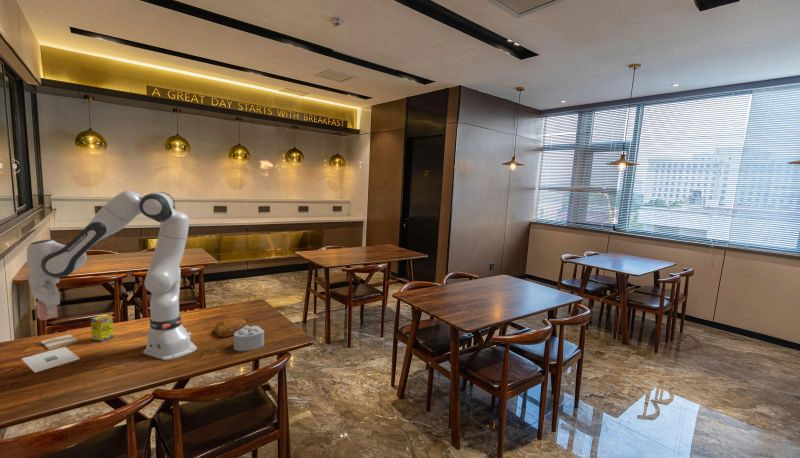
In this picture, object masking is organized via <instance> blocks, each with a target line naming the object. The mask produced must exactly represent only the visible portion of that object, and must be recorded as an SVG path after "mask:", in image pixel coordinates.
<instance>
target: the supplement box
mask: <svg viewBox="0 0 800 458" xmlns="http://www.w3.org/2000/svg"><path fill="white" fill-rule="evenodd" d="M90 331H91V341H94V342H98V343H99V342H100V343H102V342H105V341H107V340H111V339H112V338H114V321H113V315H111V314H109V315H108V314H104V313H103V314H101V315H98V316H95V317H91V318H90Z"/></svg>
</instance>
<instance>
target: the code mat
mask: <svg viewBox="0 0 800 458" xmlns="http://www.w3.org/2000/svg"><path fill="white" fill-rule="evenodd" d="M77 360H81V358H80V357H79V356H77V354H75V353H74V352H73V351H72V350H70V349H69V348H68V347H66V346H61V347H59V348H58V347H57V348H54V349H52V350H51V349H50V350H48V351H44V352H40V353H36V354H34V355H31V356H26V357H23V358H21V361H23V362H24V363H25V365H27V366H28V367H29V369H31V371H32V372H34V373H38V372H41V371H42V372H43V371H44V370H48V369H51V368H55V367H58V366H62V365H64V364H68V363H71V362H74V361H77Z"/></svg>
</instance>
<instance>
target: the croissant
mask: <svg viewBox="0 0 800 458" xmlns="http://www.w3.org/2000/svg"><path fill="white" fill-rule="evenodd" d="M244 326H248V325H247V322H246V321H245V320H244V319H242V318H240V317H235V316H234V317H227V318H224V319H221V320H220V321H219V322H217V324H216V325H215V326H214V333H215V334H216V335H217V336H218V337H220V338H227V337H230V336H234V333H235V332H236V331H238V330H240V329H242V328H243V327H244Z"/></svg>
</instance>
